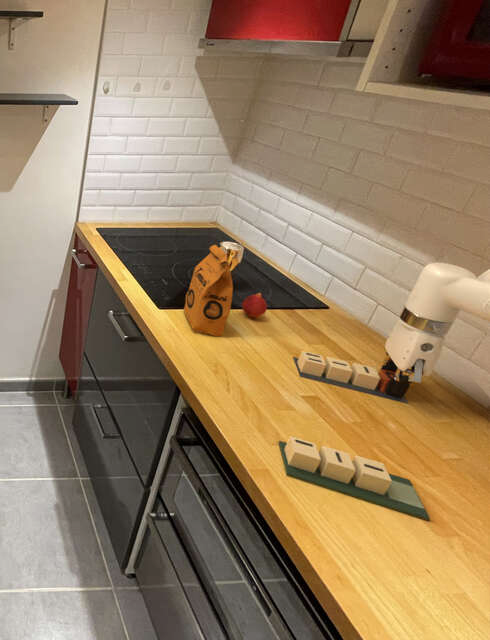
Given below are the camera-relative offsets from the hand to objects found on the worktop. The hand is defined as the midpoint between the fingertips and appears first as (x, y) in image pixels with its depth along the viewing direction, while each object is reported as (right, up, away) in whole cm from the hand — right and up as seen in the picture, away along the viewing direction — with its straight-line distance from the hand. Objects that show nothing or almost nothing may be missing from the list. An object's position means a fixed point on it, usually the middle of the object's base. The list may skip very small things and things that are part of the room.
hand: (389, 386), depth 101 cm
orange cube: (0, -1, 0) cm, 1 cm away
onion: (-14, +11, +27) cm, 32 cm away
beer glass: (-14, +18, +42) cm, 48 cm away
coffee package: (-30, +10, +24) cm, 39 cm away
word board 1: (-7, 0, +3) cm, 8 cm away
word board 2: (-27, -10, -20) cm, 36 cm away
